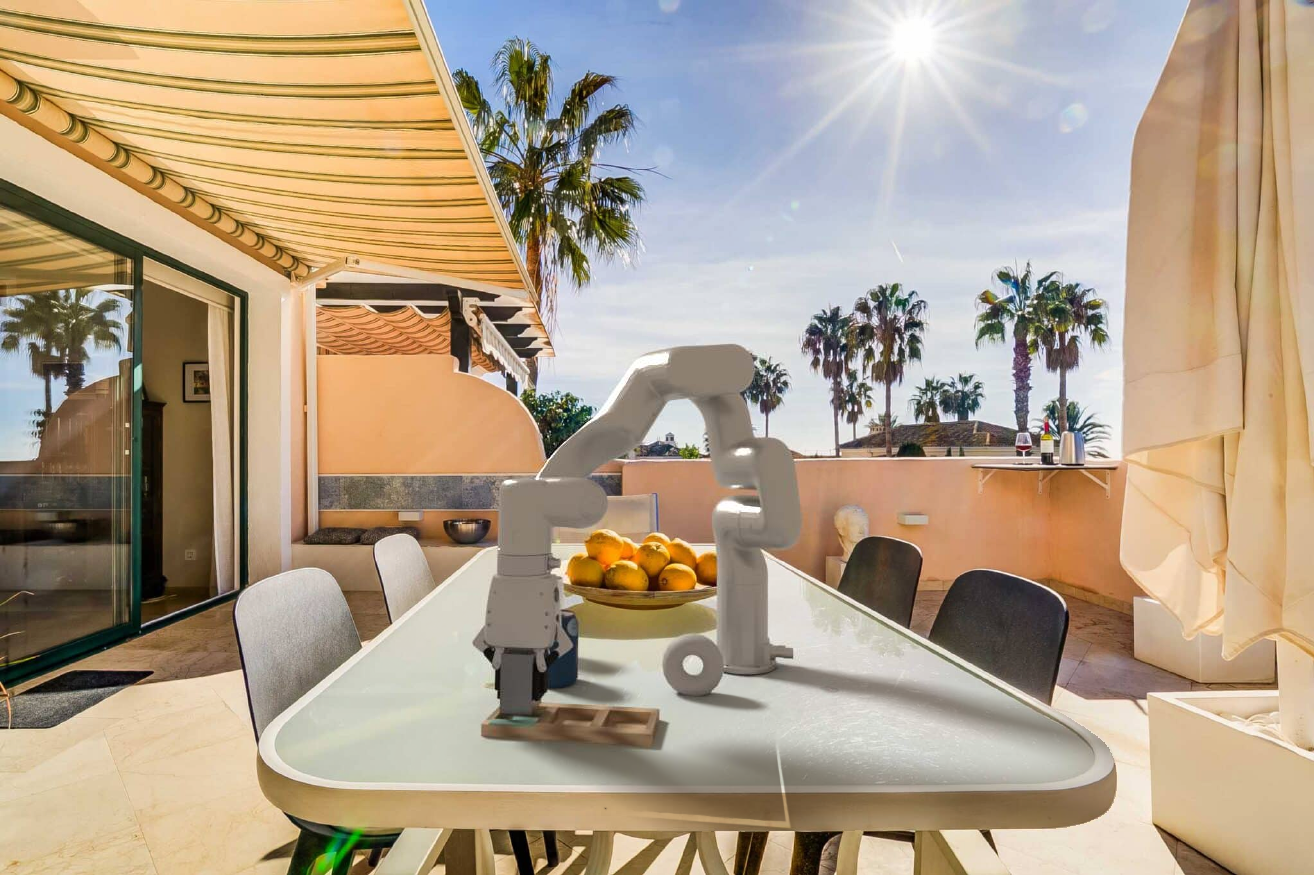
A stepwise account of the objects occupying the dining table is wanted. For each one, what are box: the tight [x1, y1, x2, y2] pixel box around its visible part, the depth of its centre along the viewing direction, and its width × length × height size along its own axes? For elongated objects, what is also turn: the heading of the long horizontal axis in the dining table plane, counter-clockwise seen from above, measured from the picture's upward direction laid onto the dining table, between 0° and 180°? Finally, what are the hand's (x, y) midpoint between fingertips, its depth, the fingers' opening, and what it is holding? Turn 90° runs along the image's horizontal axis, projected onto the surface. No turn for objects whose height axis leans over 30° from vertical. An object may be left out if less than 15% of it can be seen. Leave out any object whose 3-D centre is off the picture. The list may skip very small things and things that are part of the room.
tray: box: [480, 701, 661, 748], centre depth 89 cm, size 23×9×2 cm, turn 83°
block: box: [499, 648, 542, 715], centre depth 90 cm, size 4×4×8 cm
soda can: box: [548, 608, 579, 689], centre depth 108 cm, size 7×7×12 cm
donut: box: [661, 632, 724, 697], centre depth 103 cm, size 10×4×10 cm, turn 82°
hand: (521, 695), depth 90 cm, fingers closed on block, 4 cm apart
